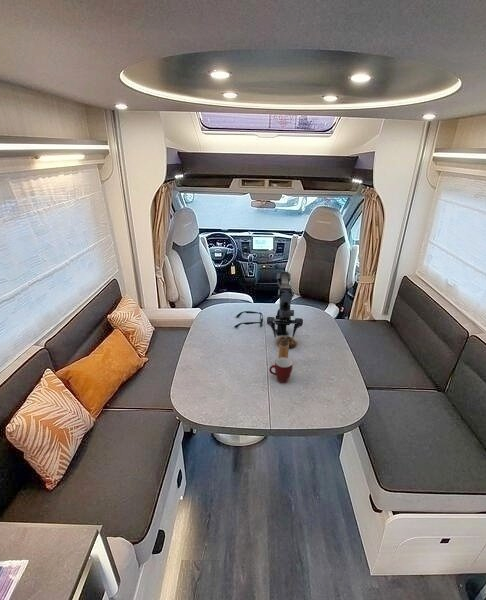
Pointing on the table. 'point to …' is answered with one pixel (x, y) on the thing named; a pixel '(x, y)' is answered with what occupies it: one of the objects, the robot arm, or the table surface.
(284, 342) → the pepper mill
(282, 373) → the mug
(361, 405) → the table surface
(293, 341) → the bread roll
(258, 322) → the glasses
